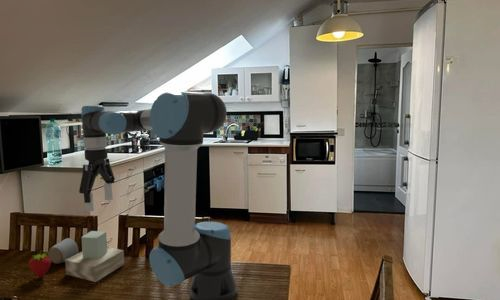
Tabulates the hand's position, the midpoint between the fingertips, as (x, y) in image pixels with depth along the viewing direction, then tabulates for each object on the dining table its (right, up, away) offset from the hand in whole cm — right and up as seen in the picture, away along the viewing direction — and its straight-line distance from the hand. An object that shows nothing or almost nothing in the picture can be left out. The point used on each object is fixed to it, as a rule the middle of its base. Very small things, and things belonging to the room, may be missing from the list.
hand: (99, 205), depth 126 cm
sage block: (-2, -18, 0) cm, 18 cm away
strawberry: (-19, -25, -5) cm, 32 cm away
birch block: (-2, -24, +1) cm, 25 cm away
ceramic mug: (-16, -23, +8) cm, 30 cm away
